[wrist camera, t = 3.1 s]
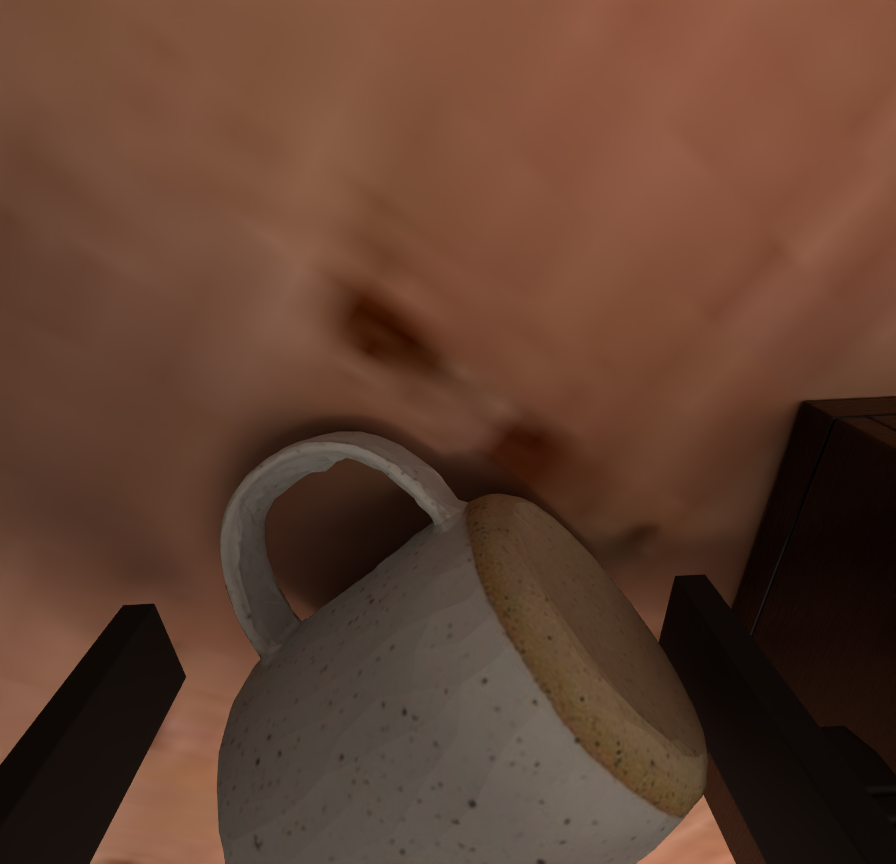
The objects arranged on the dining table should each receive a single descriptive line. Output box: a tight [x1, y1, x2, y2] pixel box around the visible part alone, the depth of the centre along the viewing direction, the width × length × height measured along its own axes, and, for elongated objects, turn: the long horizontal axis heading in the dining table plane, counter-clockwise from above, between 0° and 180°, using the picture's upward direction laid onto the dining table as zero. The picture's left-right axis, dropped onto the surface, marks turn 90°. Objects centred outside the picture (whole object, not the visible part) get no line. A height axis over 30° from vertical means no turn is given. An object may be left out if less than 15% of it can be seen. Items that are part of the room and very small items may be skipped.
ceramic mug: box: [217, 431, 708, 864], centre depth 10 cm, size 11×8×8 cm
